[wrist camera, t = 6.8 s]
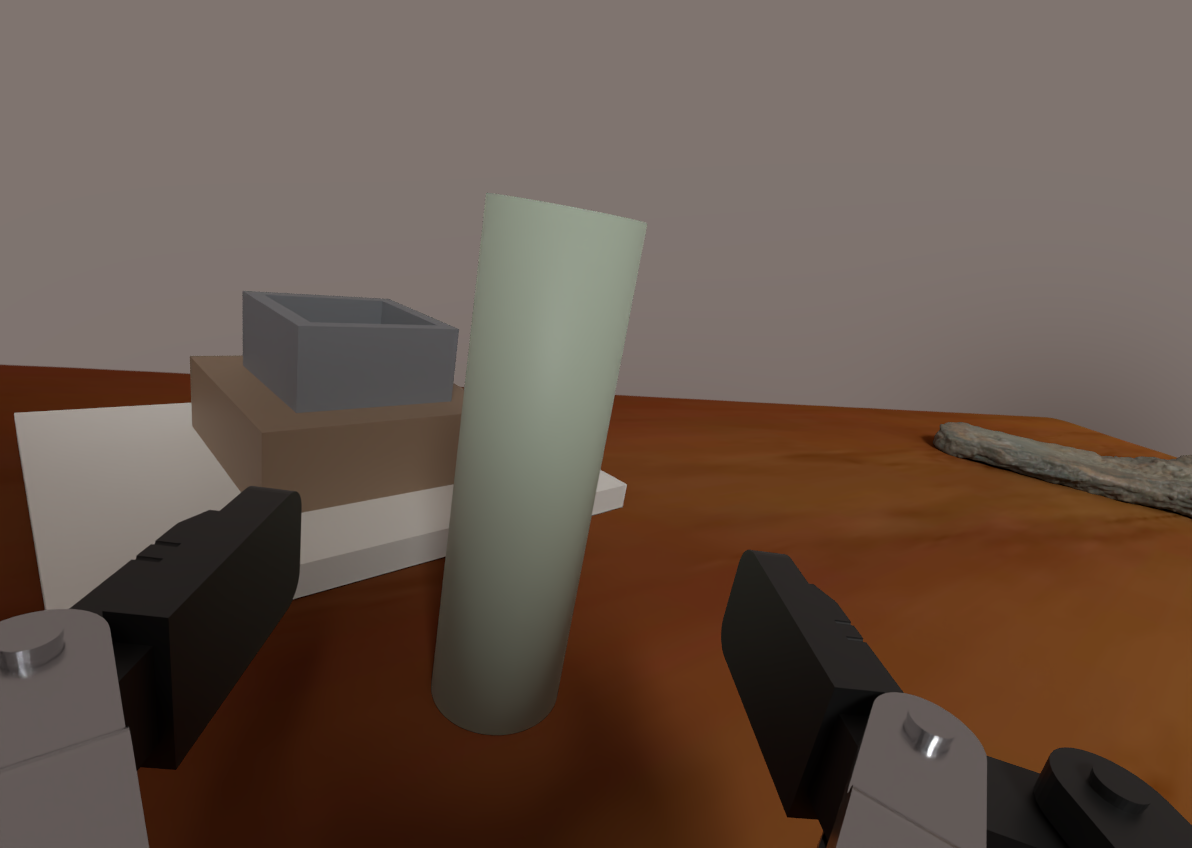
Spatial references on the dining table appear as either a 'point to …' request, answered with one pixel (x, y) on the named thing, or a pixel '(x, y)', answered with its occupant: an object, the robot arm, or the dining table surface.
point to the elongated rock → (1076, 466)
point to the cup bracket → (267, 447)
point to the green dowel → (529, 453)
